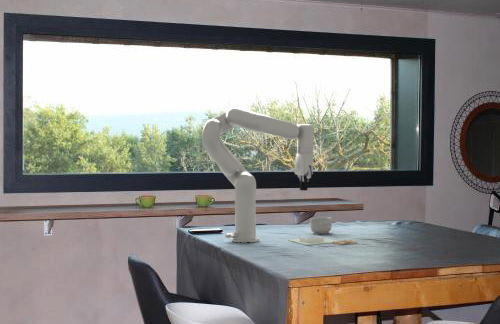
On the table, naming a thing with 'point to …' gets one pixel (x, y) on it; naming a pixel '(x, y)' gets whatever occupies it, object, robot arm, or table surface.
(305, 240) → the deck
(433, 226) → the table surface
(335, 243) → the holder
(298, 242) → the mat
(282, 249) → the table surface
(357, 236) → the table surface
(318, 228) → the teacup
